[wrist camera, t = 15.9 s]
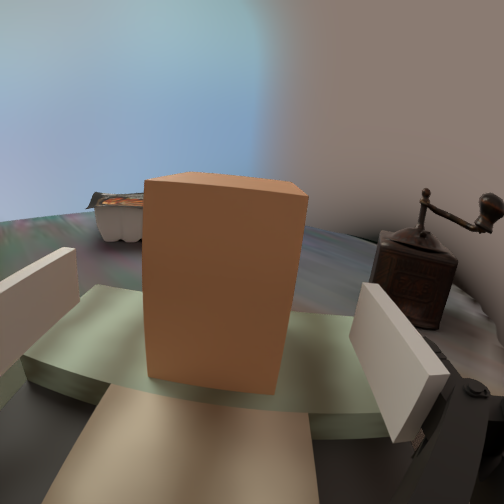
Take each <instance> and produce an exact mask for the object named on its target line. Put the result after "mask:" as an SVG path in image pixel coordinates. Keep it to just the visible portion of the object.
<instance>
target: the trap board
mask: <svg viewBox="0 0 504 504" xmlns="http://www.w3.org/2000/svg"><path fill="white" fill-rule="evenodd" d="M353 319H354V317H351V316H338V315H326V314H314V313H303V312H293V311H291V312H290V318H289V323H288V328H287V334H286V339H285V344H284V350H283V355H282V360H281V365H280V370H279V375H278V380H277V384H276V389H275V394H274V395H265V394H255V393H245V392H236V391H228V390H221V389H214V388H207V387H200V386H194V385H188V384H182V383H177V382H171V381H166V380H161V379H156V378H151V377H148V373H147V362H146V350H145V335H144V317H143V292H139V291H133V290H127V289H121V288H115V287H110V286H104V285H98V284H96V285H95V286H94V287H93V288H91V289H90V290H89V291H88V292H87V293H85V294H84V295H83V296H82V297H81V298H80V302H79V303H78V304H77V305H76V306H75V307H74V308H72V309H71V310H70V311H69V312H68V313H67V314H66V315H65V316H64V317H62V318H61V319H60V320H59V321H58V322H57V323H56V324H55V325H54V326H53V327H51V328H50V329H49V330H48V331H47V332H46V333H45V334H44V335H43V336H42V337H41V338H40V339H39V340H38V341H36V342H35V343H34V344H33V345H32V346H31V347H30V348H29V349H28V350H27V351H26V352H25V353H24V354H23V355H22V356H21V357H20V359H21V362H22V366H23V369H24V372H25V375H26V377H27V381H26V382H25V383H24V384H23V385H22V387H21V388H20V389H19V390H18V391H17V392H16V393H15V394H14V396H13V397H12V398H11V399H10V400H9V401H8V402H7V404H6V405H5V406H4V407H3V408H2V409H1V411H0V504H388V503H389V502H390V500H391V499H392V497H393V495H394V493H395V492H396V490H397V488H398V487H399V485H400V483H401V481H402V479H403V478H404V476H405V474H406V472H407V470H408V468H409V466H410V464H411V462H412V460H413V459H412V458H411V457H412V455H413V454H414V452H415V451H414V448H413V446H412V444H411V441H407V442H399V443H393V442H392V440H391V437H390V435H389V432H388V430H387V427H386V424H385V422H384V419H383V417H382V414H381V412H380V409H379V407H378V405H377V402H376V400H375V397H374V395H373V392H372V390H371V388H370V385H369V383H368V380H367V378H366V376H365V373H364V371H363V369H362V366H361V364H360V362H359V359H358V357H357V355H356V352H355V350H354V348H353V346H352V343H351V341H350V339H349V333H350V330H351V326H352V323H353Z"/></svg>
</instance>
